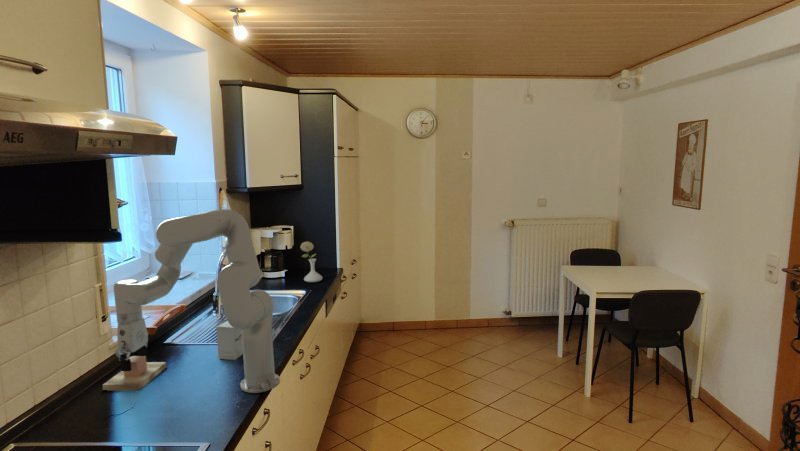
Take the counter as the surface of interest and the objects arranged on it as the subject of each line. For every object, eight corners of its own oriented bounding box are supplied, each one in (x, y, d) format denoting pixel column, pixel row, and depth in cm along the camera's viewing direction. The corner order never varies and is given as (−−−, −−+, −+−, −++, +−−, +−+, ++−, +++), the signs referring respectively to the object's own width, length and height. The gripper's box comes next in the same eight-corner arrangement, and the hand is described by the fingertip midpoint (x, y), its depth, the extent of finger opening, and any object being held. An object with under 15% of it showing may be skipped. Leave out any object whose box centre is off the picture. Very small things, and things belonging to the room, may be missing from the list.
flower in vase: (325, 279, 292) (323, 239, 289) (319, 283, 281) (317, 242, 278) (305, 278, 294) (302, 239, 291) (298, 283, 283) (296, 243, 280)
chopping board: (133, 367, 169) (133, 362, 169) (166, 367, 169) (165, 362, 169) (103, 390, 152) (102, 384, 152) (139, 390, 152) (138, 384, 152)
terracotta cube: (138, 376, 158) (137, 362, 157) (124, 376, 158) (122, 362, 157) (147, 369, 163) (145, 356, 162) (133, 369, 163) (131, 356, 162)
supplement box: (235, 360, 174) (233, 327, 172) (217, 359, 175) (215, 326, 173) (246, 352, 181) (243, 321, 179) (228, 351, 182) (226, 320, 181)
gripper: (125, 325, 149) (130, 375, 151) (154, 308, 166) (159, 354, 168) (102, 325, 149) (108, 376, 152) (133, 308, 166) (138, 354, 169)
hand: (134, 364), depth 160 cm, fingers open, 9 cm apart
